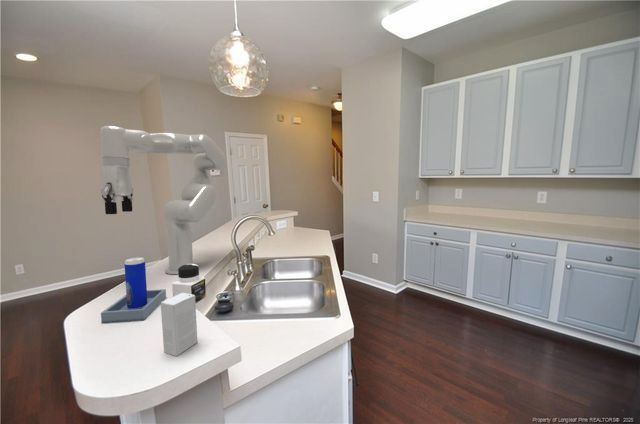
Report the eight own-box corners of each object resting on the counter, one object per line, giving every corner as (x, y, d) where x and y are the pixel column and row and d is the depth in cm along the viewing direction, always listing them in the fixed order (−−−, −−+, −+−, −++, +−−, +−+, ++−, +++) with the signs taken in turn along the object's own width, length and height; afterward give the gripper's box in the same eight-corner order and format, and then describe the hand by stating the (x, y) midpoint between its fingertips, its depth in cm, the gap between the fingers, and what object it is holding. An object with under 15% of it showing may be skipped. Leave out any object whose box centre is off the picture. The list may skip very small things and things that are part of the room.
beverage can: (126, 306, 82) (123, 258, 81) (146, 301, 86) (143, 256, 84) (128, 312, 78) (125, 262, 77) (149, 307, 82) (146, 259, 80)
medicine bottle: (192, 306, 84) (190, 269, 83) (172, 304, 85) (170, 267, 84) (206, 297, 91) (205, 263, 90) (187, 295, 92) (186, 261, 91)
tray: (131, 299, 89) (131, 291, 88) (166, 297, 90) (165, 289, 90) (101, 323, 73) (100, 312, 73) (143, 320, 75) (143, 310, 75)
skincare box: (184, 338, 66) (182, 291, 65) (198, 342, 64) (196, 294, 63) (162, 352, 60) (159, 301, 59) (176, 357, 59) (173, 305, 58)
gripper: (119, 165, 100) (121, 210, 102) (87, 161, 83) (91, 215, 85) (140, 165, 101) (143, 210, 103) (113, 161, 84) (117, 215, 86)
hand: (119, 212), depth 94 cm, fingers open, 9 cm apart
